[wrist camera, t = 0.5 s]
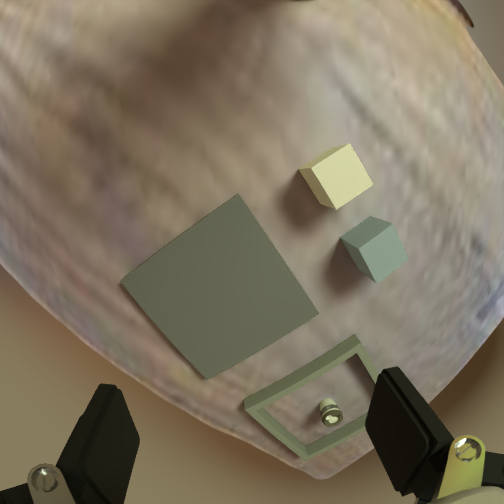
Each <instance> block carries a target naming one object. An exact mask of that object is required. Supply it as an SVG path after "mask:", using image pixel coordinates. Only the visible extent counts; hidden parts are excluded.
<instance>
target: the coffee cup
mask: <svg viewBox="0 0 504 504" xmlns="http://www.w3.org/2000/svg"><path fill="white" fill-rule="evenodd" d="M320 411H321V417H322V422H323V423H324V425H325V426H327V427H333V426H336V425H338V424H339V423H340V422H341V421H342V419H343V415H342V412H341V411H340V409H339V408H338V406H337V405H336V404H335V402H334V401H333V399H331V398H327V399H324V400H322V401H321V402H320Z"/></svg>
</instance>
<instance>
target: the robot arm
mask: <svg viewBox="0 0 504 504" xmlns="http://www.w3.org/2000/svg"><path fill="white" fill-rule="evenodd" d="M365 428H366V431H367V433H368V435H369V437H370V439H371V441H372V443H373V445H374V447H375V449H376V451H377V453H378V455H379V457H380V459H381V461H382V464H383V466H384V468H385V470H386V472H387V474H388V476H389V478H390V480H391V482H392V484H393V487H394V489H395V490H396V491H400V493H401V495H402V496H405V495H408V494H410V493H413V492H414V494H415V496H416V500H415V502H414V504H504V454H498V453H492V452H486V451H485V446H484V444H483V443H482V442H481V440H480V439H478V438H477V437H475V436H471V435H463V436H460V437H458V438H456V439H454V438H453V437H452V435H451V434H450V433H449V431H448V430H447V429H446V427H445V426H444V424H443V423H442V422H441V421H440V420H439V418H438V417H437V415H436V414H435V413H434V411H433V410H432V409H431V407H430V406H429V405H428V403H427V402H426V401H425V400H424V398H423V397H422V396H421V395H420V393H419V392H418V391H417V390H416V388H415V387H414V386H413V384H412V383H411V382H410V381H409V379H408V378H407V377H406V376H405V374H404V373H403V372H402V371H401V369H400V368H399V367H397V366H396V367H392V368H387V369H383V370H382V372H381V374H379V375H378V377H377V381H376V385H375V388H374V392H373V396H372V400H371V403H370V407H369V410H368V414H367V417H366V420H365ZM139 442H140V438H139V434H138V432H137V430H136V427H135V425H134V422H133V420H132V417H131V415H130V412H129V410H128V407H127V405H126V402H125V399H124V397H123V394H122V391H121V390H120V389H118V388H117V387H116V386H115V385H111V384H100V385H99V386H98V388H97V390H96V391H95V393H94V395H93V397H92V399H91V401H90V402H89V404H88V406H87V408H86V410H85V412H84V414H83V415H81V417H80V418H79V420H78V422H77V424H76V426H75V428H74V429H73V431H72V433H71V436H70V437H69V439H68V441H67V443H66V446H65V447H64V449H63V451H62V453H61V455H60V458H59V460H58V462H57V464H56V466H53V465H51V464H46V463H45V464H39V465H37V466H35V467H34V468H32V469H31V471H30V472H29V474H28V477H27V482H28V483H25V484H22V485H19V486H16V487H13V488H9V489H6V490H3V491H0V504H124V500H125V496H126V492H127V488H128V484H129V480H130V476H131V473H132V469H133V465H134V461H135V458H136V454H137V451H138V447H139Z"/></svg>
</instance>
